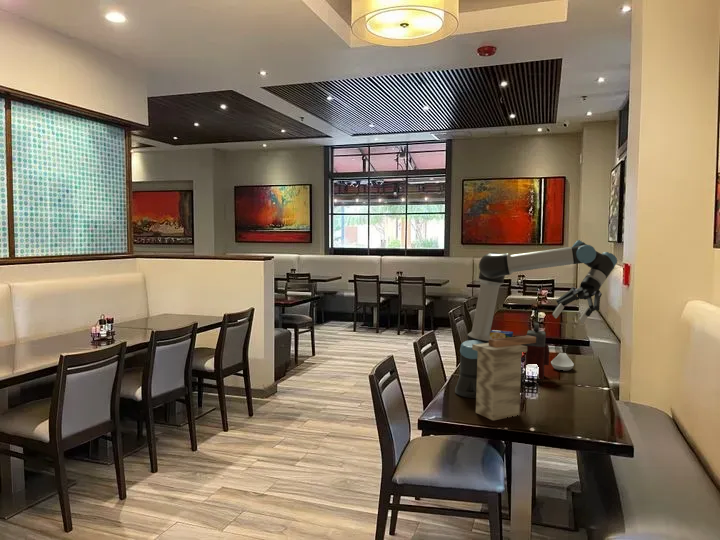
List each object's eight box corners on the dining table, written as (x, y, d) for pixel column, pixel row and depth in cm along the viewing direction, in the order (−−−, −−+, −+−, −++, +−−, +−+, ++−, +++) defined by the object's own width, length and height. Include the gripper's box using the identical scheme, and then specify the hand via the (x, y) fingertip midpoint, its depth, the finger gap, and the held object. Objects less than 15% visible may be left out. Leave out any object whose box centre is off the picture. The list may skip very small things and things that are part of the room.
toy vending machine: (548, 380, 259) (550, 325, 257) (525, 377, 263) (527, 323, 261) (548, 376, 267) (550, 322, 266) (526, 373, 271) (528, 321, 270)
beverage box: (490, 370, 277) (492, 330, 276) (511, 372, 273) (513, 331, 271) (488, 373, 271) (489, 332, 270) (509, 375, 266) (511, 333, 265)
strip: (488, 345, 206) (488, 339, 205) (528, 341, 216) (528, 335, 216) (495, 347, 202) (495, 341, 202) (535, 342, 212) (536, 337, 212)
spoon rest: (574, 373, 274) (574, 360, 274) (550, 371, 278) (551, 358, 278) (572, 363, 296) (573, 351, 296) (550, 361, 300) (551, 349, 300)
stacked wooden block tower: (470, 412, 208) (472, 344, 207) (503, 406, 217) (505, 340, 215) (490, 422, 198) (493, 350, 196) (524, 415, 206) (527, 346, 205)
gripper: (622, 290, 213) (597, 329, 207) (572, 285, 235) (548, 320, 228) (615, 278, 210) (589, 316, 204) (565, 274, 232) (540, 308, 226)
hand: (567, 318), depth 216 cm, fingers open, 13 cm apart
